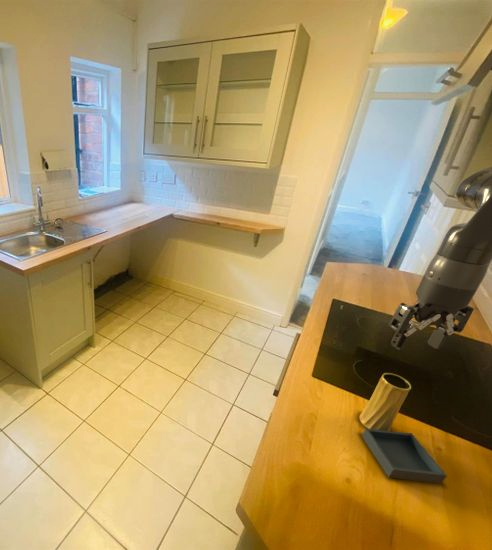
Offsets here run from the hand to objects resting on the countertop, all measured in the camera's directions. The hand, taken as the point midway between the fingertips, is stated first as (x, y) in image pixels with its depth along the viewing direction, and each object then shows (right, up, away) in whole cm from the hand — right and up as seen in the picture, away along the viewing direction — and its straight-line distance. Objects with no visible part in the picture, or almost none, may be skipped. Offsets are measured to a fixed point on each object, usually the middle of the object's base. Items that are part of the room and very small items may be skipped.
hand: (414, 346), depth 65 cm
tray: (-1, -25, +3) cm, 26 cm away
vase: (0, -22, +11) cm, 24 cm away
